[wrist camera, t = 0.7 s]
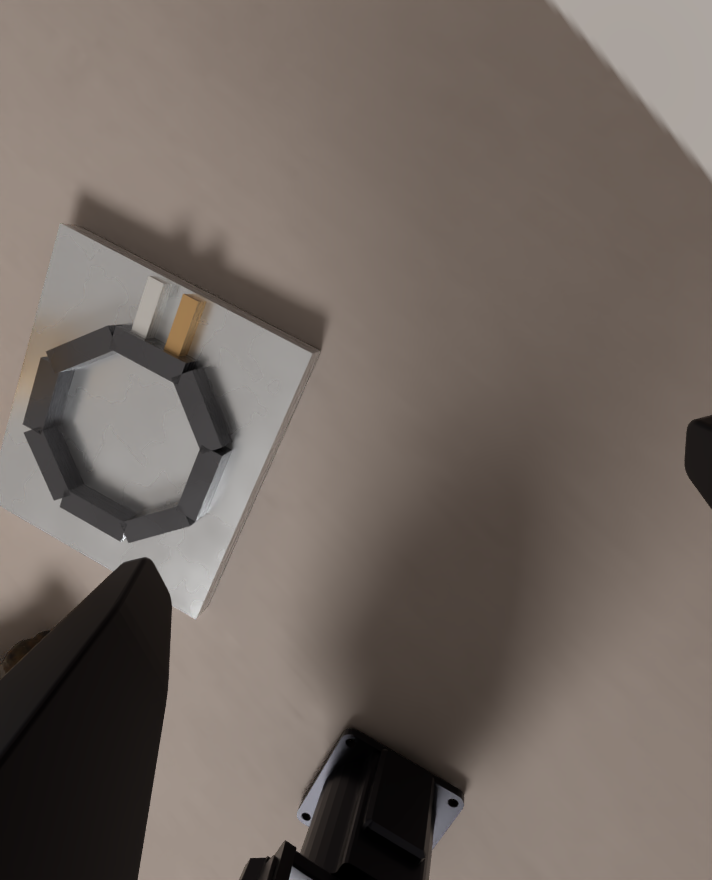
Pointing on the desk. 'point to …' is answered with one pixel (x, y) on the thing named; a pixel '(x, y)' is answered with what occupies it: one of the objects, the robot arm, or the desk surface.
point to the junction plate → (145, 415)
